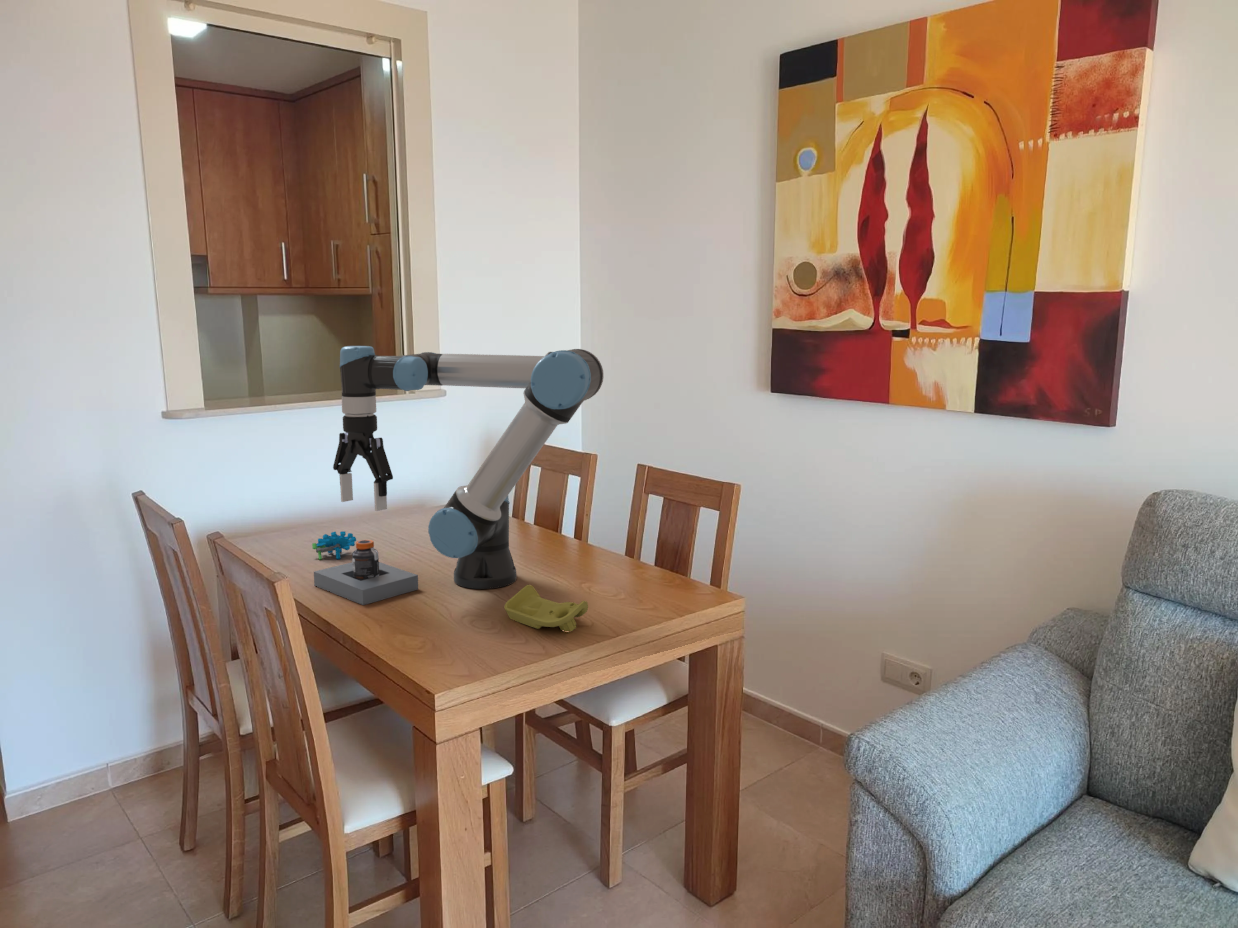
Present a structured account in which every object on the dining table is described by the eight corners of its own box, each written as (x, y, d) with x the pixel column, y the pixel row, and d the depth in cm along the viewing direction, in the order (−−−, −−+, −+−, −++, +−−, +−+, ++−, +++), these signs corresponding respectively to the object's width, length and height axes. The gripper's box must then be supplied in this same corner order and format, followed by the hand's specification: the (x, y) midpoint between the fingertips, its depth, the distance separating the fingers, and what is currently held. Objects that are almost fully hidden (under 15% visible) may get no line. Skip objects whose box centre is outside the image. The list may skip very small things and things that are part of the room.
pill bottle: (385, 586, 206) (383, 539, 205) (367, 593, 201) (365, 545, 199) (365, 582, 209) (364, 536, 207) (348, 589, 204) (346, 542, 202)
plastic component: (499, 607, 187) (532, 579, 192) (513, 633, 190) (545, 605, 195) (556, 626, 172) (590, 595, 178) (570, 654, 175) (603, 623, 181)
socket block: (418, 589, 205) (417, 574, 204) (363, 605, 193) (362, 590, 193) (368, 571, 217) (368, 558, 217) (314, 585, 206) (313, 571, 205)
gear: (358, 544, 235) (352, 526, 227) (360, 563, 232) (355, 545, 224) (315, 552, 233) (308, 533, 225) (317, 571, 230) (310, 553, 222)
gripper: (406, 417, 193) (409, 510, 197) (343, 408, 209) (347, 494, 212) (377, 420, 187) (381, 516, 191) (315, 411, 203) (319, 499, 207)
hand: (363, 505), depth 202 cm, fingers open, 13 cm apart
